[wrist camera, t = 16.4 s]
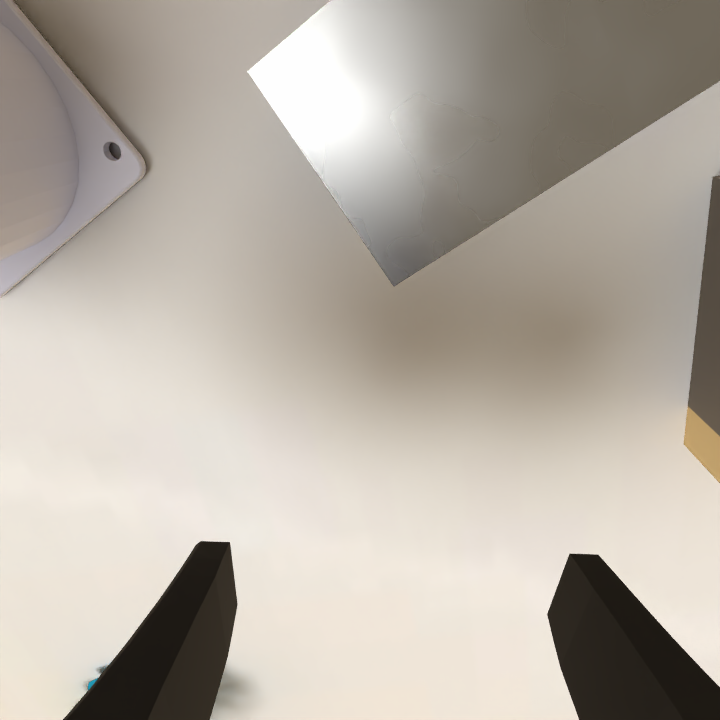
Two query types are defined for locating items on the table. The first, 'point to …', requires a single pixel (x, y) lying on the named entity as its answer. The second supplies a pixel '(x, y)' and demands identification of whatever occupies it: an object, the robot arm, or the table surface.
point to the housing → (475, 103)
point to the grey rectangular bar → (707, 353)
